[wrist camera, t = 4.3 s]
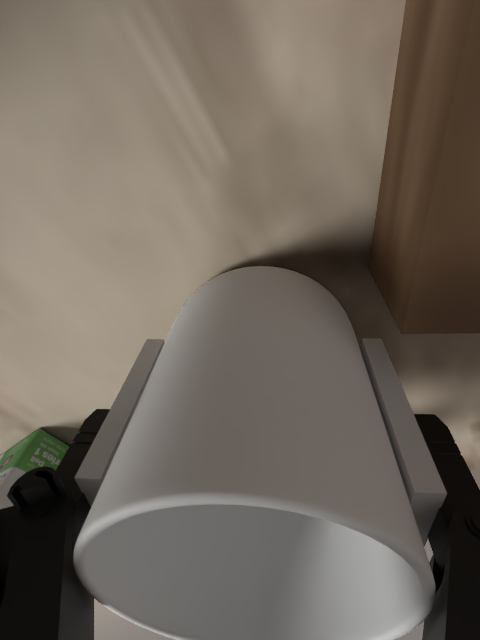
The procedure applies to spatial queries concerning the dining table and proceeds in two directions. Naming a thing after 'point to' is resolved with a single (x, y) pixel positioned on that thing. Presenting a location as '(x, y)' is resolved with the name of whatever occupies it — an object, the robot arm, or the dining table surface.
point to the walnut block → (432, 174)
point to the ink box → (28, 460)
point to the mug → (257, 480)
